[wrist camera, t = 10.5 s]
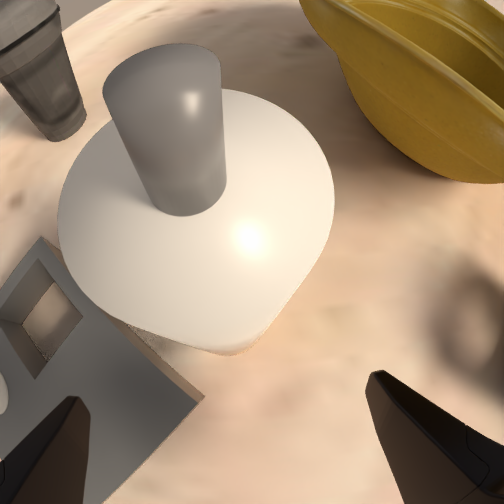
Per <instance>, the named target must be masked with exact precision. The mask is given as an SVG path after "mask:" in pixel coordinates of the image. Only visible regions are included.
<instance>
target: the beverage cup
mask: <svg viewBox="0 0 504 504" xmlns="http://www.w3.org/2000/svg"><path fill="white" fill-rule="evenodd" d="M59 11H60V7H59V6H58V5H57V4H56V2H55V0H0V82H1V83H2V85H3V86H4V87H5V89H6V90H7V91H8V92H9V94H10V95H11V96H12V97H13V99H14V100H15V101H16V102H17V104H18V105H19V106H20V107H21V109H22V110H23V111H24V112H25V113H26V115H27V116H28V117H29V118H30V119H31V121H32V122H33V123H34V124H35V125H36V127H37V128H38V129H39V130H40V131H41V132H42V133H43V134H44V135H45V136H47V138H48V139H49V140H50V141H52V142H59V141H62V140H65V139H67V138H68V137H70V136H72V135H73V134H74V133H75V132H77V131H78V130H79V128H80V127H81V126H82V125H83V123H84V121H85V120H86V115H87V114H86V110H85V108H84V105H83V101H82V97H81V94H80V91H79V88H78V86H77V83H76V80H75V76H74V73H73V70H72V67H71V64H70V61H69V57H68V54H67V51H66V47H65V44H64V40H63V37H62V33H61V31H62V29H61V20H60V15H59Z"/></svg>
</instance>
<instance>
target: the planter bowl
mask: <svg viewBox="0 0 504 504" xmlns="http://www.w3.org/2000/svg"><path fill="white" fill-rule="evenodd" d="M299 2H300V4H301V6H302V9H303V11H304V13H305V15H306V17H307V19H308V20H309V22H310V24H311V25H312V27H313V28H314V29H315V31H316V32H317V33H318V35H319V36H320V37H321V38H322V39H323V40H324V41H325V42H326V43H327V44H328V46H329V47H330V48H331V49H333V50H334V51H335V52H336V53H337V56H338V59H339V62H340V65H341V68H342V71H343V74H344V76H345V79H346V81H347V84H348V86H349V88H350V90H351V92H352V95H353V97H354V99H355V101H356V102H357V104H358V106H359V107H360V109H361V111H362V112H363V113H364V115H365V116H366V117H367V119H368V120H369V121H370V122H371V124H372V125H373V126H374V127H375V128H376V129H377V130H378V131H379V132H380V133H381V134H382V135H383V136H384V137H385V138H386V139H387V140H388V141H389V142H390V143H391V144H392V145H394V146H395V147H396V148H398V149H399V150H400V151H401V152H403V153H404V154H405V155H407V156H408V157H410V158H411V159H413V160H414V161H416V162H417V163H419V164H420V165H422V166H424V167H425V168H427V169H429V170H431V171H433V172H435V173H437V174H439V175H442V176H444V177H447V178H450V179H453V180H456V181H461V182H467V183H478V184H497V183H504V15H503V14H502V13H501V12H499V11H498V10H497V9H495V8H494V7H493V6H491V5H490V4H488V3H487V2H485V1H484V0H299Z"/></svg>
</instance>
